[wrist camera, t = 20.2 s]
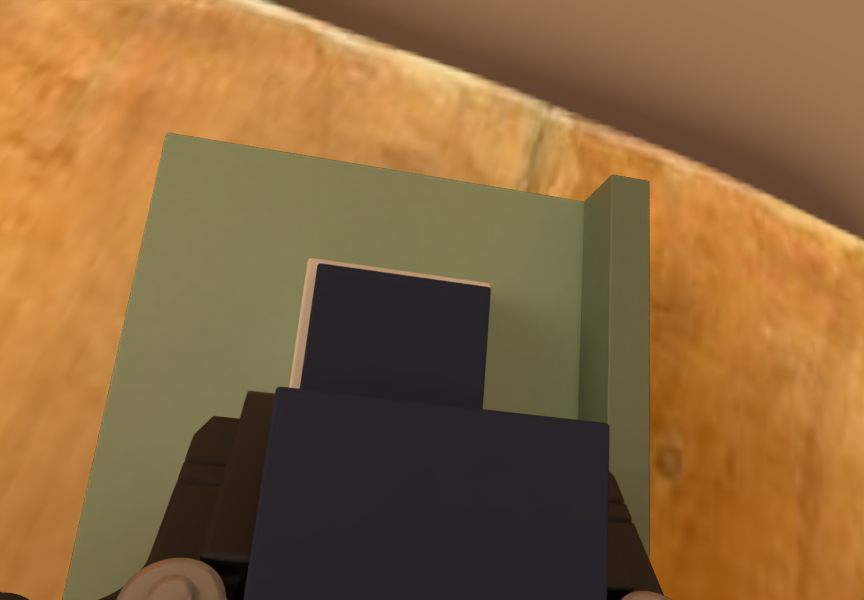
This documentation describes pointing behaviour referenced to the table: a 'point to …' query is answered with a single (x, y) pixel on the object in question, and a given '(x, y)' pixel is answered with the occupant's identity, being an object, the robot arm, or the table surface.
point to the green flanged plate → (364, 245)
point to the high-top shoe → (418, 458)
